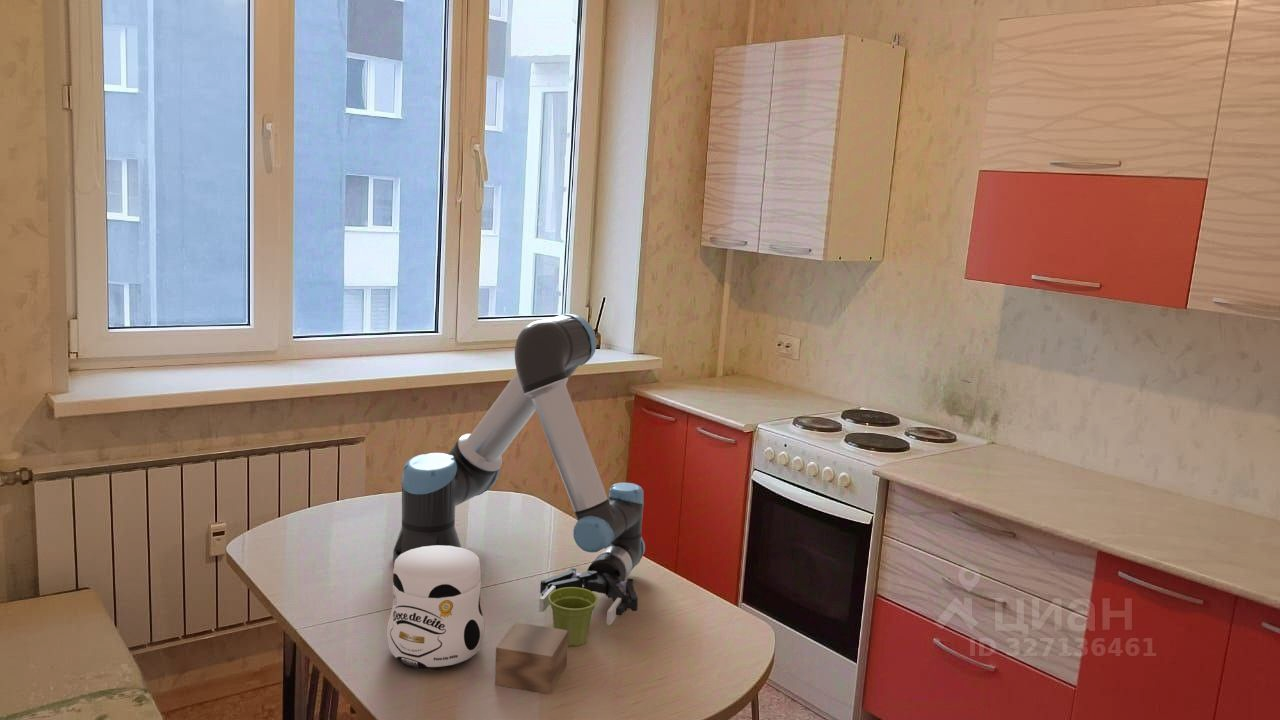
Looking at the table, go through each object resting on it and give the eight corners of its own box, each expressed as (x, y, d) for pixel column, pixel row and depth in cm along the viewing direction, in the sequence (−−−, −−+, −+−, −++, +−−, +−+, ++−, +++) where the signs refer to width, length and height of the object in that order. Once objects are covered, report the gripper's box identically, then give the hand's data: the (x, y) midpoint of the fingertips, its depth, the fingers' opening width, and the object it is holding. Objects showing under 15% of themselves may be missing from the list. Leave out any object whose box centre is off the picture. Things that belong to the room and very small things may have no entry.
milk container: (388, 682, 167) (389, 584, 163) (385, 635, 183) (386, 545, 180) (489, 673, 172) (492, 578, 168) (477, 628, 188) (480, 540, 185)
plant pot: (605, 638, 187) (607, 596, 186) (576, 656, 179) (578, 613, 178) (566, 623, 192) (568, 582, 190) (536, 641, 184) (538, 598, 182)
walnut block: (494, 684, 168) (496, 647, 167) (514, 657, 178) (515, 622, 176) (550, 694, 166) (551, 656, 165) (566, 666, 176) (568, 630, 174)
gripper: (665, 597, 202) (636, 642, 181) (553, 576, 208) (513, 618, 188) (667, 563, 200) (638, 605, 180) (554, 543, 207) (514, 582, 187)
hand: (574, 611), depth 184 cm, fingers open, 13 cm apart
